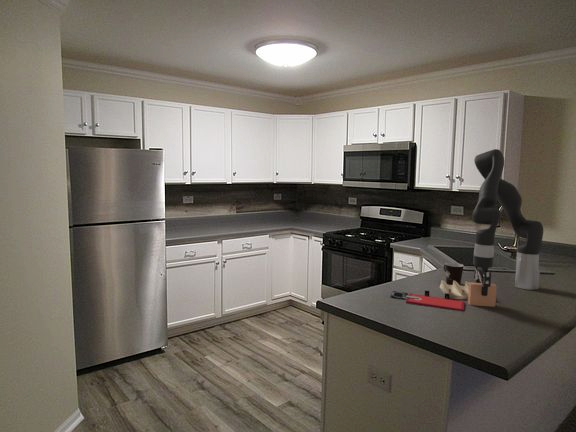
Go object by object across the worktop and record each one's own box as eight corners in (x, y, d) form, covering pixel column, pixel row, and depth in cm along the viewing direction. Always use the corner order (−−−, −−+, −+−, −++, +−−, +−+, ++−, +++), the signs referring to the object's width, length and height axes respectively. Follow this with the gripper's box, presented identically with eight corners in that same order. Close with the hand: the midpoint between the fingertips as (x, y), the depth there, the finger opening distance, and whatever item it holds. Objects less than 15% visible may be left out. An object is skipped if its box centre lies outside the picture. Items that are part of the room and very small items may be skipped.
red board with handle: (394, 291, 183) (388, 301, 170) (394, 286, 183) (388, 295, 170) (464, 302, 171) (463, 313, 157) (464, 295, 171) (464, 306, 157)
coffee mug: (464, 287, 192) (465, 267, 191) (445, 285, 194) (446, 266, 193) (459, 281, 204) (460, 262, 203) (441, 280, 205) (442, 261, 204)
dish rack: (479, 289, 188) (479, 281, 188) (491, 301, 171) (492, 292, 170) (439, 287, 191) (440, 279, 191) (448, 298, 174) (448, 289, 173)
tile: (492, 304, 166) (494, 283, 166) (495, 306, 164) (496, 285, 163) (467, 302, 168) (469, 282, 167) (469, 305, 165) (471, 284, 164)
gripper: (499, 258, 156) (496, 298, 158) (487, 252, 170) (485, 288, 172) (479, 257, 158) (476, 297, 159) (469, 251, 172) (467, 287, 173)
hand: (481, 292), depth 166 cm, fingers open, 8 cm apart
